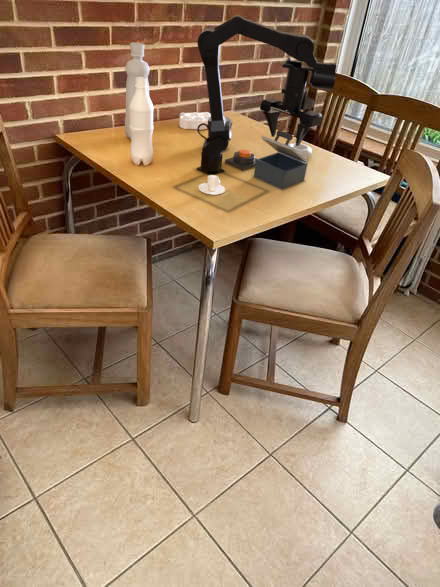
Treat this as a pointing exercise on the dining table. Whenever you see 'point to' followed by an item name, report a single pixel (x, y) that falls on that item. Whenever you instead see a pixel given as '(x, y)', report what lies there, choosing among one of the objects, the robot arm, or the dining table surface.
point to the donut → (302, 149)
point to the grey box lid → (284, 146)
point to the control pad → (241, 161)
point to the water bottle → (141, 124)
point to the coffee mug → (210, 126)
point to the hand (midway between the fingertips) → (285, 141)
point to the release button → (245, 153)
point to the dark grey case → (280, 170)
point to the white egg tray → (194, 120)
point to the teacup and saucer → (212, 186)
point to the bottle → (134, 78)
